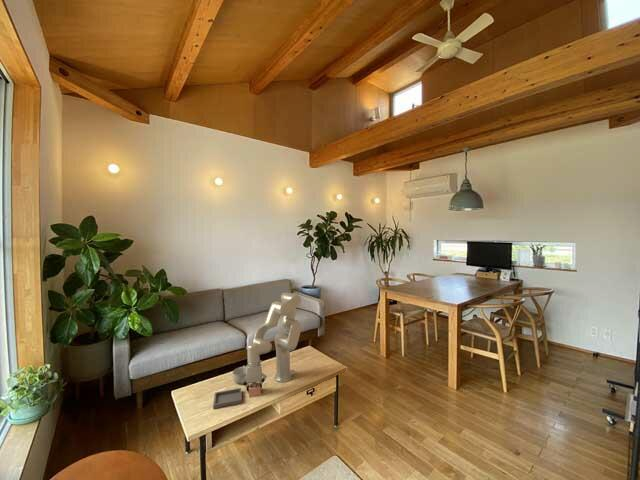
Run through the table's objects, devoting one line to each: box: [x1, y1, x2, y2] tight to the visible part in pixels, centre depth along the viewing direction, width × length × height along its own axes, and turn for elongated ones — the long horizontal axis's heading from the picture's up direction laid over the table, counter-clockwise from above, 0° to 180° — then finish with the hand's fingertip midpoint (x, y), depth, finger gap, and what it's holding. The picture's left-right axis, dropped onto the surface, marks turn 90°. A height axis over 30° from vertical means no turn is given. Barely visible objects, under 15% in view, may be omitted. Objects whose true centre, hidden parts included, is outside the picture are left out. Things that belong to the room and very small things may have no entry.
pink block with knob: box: [248, 381, 261, 398], centre depth 172 cm, size 7×7×5 cm
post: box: [251, 381, 258, 388], centre depth 172 cm, size 3×3×6 cm
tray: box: [212, 387, 243, 410], centre depth 165 cm, size 16×13×2 cm
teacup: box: [232, 365, 247, 385], centre depth 187 cm, size 14×11×8 cm
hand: (254, 390), depth 172 cm, fingers closed on pink block with knob, 7 cm apart
